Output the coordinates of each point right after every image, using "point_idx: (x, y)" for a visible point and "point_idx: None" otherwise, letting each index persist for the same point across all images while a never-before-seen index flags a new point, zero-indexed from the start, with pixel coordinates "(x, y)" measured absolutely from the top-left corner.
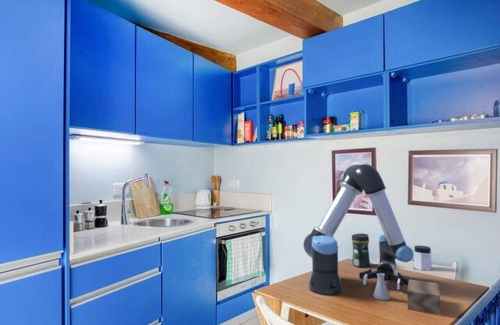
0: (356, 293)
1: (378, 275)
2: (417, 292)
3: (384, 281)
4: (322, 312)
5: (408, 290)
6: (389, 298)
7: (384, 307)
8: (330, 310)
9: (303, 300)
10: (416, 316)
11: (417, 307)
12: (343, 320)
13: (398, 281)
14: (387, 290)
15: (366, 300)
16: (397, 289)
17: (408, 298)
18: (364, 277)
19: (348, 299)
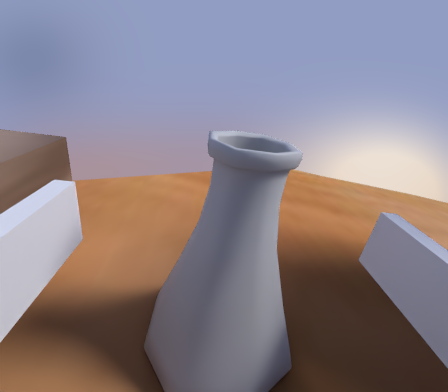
0: (400, 340)
1: (264, 141)
2: (6, 130)
3: (203, 212)
4: (327, 179)
5: (52, 139)
6: (156, 301)
7: (189, 221)
8: (322, 185)
9: (425, 209)
10: None
11: None
12: None
13: (22, 210)
14: (170, 291)
15: (281, 258)
16: (82, 237)
17: (67, 177)
18: (412, 230)
19: (348, 246)
